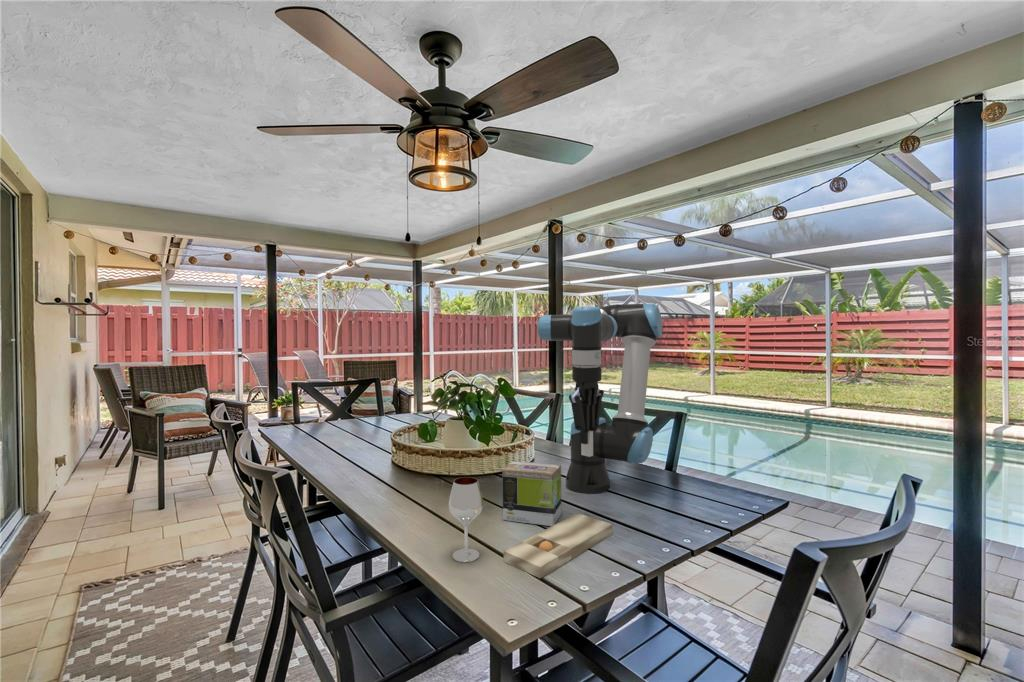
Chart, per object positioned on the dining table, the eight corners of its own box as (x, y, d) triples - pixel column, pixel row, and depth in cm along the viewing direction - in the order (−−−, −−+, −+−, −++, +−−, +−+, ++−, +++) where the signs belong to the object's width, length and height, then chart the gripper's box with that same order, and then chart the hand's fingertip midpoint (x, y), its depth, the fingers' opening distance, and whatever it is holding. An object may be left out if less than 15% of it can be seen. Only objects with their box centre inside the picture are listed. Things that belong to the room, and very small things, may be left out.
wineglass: (449, 548, 116) (449, 475, 116) (482, 547, 117) (482, 475, 116) (448, 565, 108) (447, 487, 107) (483, 563, 109) (483, 486, 108)
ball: (539, 537, 113) (546, 542, 115) (533, 551, 111) (541, 556, 113) (551, 541, 111) (558, 546, 113) (545, 556, 109) (552, 561, 111)
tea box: (561, 514, 137) (562, 463, 137) (553, 528, 128) (553, 474, 127) (513, 507, 142) (513, 459, 142) (501, 520, 133) (501, 468, 132)
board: (503, 561, 110) (503, 550, 110) (577, 522, 132) (577, 513, 132) (540, 578, 102) (540, 567, 102) (612, 533, 124) (612, 524, 124)
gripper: (584, 369, 116) (584, 463, 117) (612, 364, 125) (612, 452, 126) (560, 367, 121) (560, 458, 122) (588, 363, 130) (589, 447, 131)
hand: (587, 455), depth 124 cm, fingers closed
